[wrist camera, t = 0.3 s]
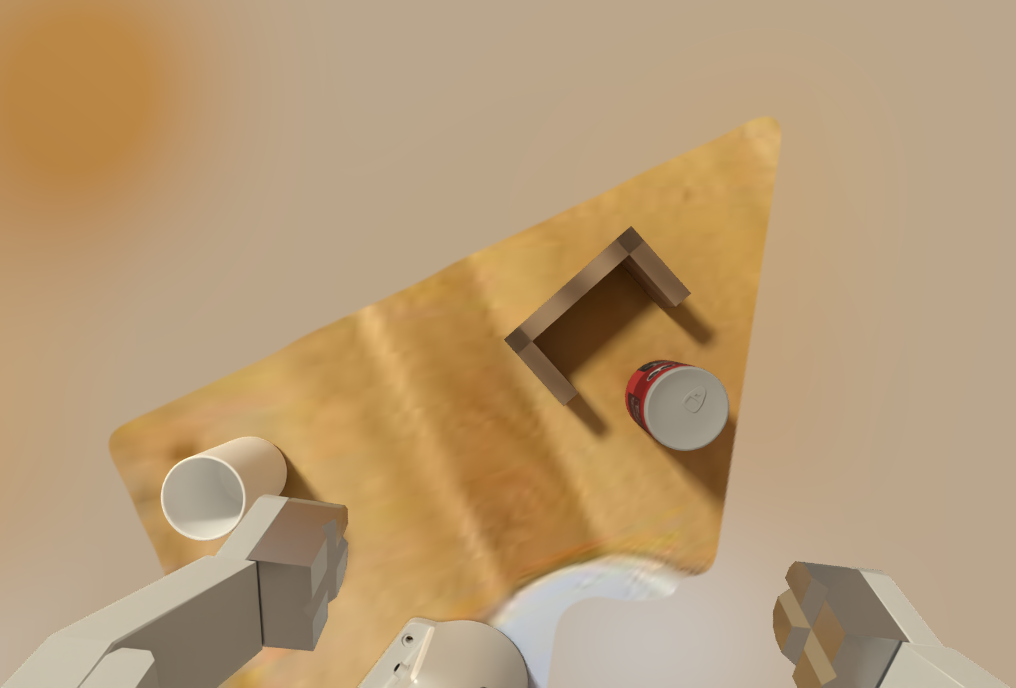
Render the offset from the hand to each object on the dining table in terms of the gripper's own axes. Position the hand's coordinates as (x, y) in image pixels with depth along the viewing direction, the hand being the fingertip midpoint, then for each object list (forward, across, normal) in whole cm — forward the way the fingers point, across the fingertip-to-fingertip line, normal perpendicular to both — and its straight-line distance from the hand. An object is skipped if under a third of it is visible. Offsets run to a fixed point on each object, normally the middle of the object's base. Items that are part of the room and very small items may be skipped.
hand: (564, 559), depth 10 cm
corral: (+51, +7, -12) cm, 53 cm away
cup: (+44, -28, -34) cm, 62 cm away
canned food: (+49, +15, -20) cm, 55 cm away
